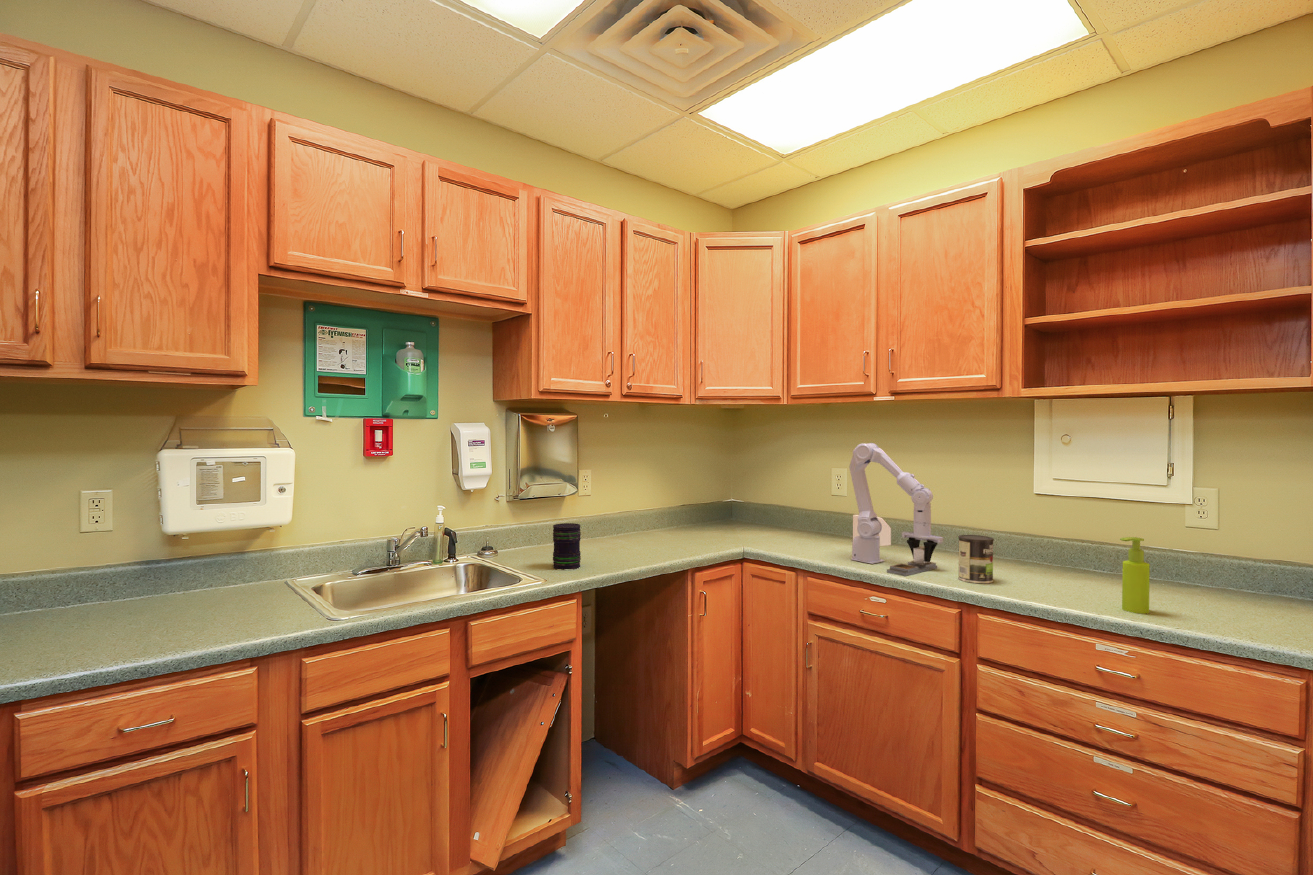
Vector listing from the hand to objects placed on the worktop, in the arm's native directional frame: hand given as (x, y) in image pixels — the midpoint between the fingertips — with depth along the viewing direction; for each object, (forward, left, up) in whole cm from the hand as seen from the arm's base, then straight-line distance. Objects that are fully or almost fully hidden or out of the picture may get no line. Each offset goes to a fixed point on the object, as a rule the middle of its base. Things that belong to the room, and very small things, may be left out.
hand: (921, 560), depth 223 cm
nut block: (0, 0, -2) cm, 2 cm away
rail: (0, -6, -3) cm, 7 cm away
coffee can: (+20, -2, -3) cm, 20 cm away
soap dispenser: (+63, -2, -3) cm, 63 cm away
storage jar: (-76, -101, -3) cm, 126 cm away
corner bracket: (-39, +27, -3) cm, 48 cm away
